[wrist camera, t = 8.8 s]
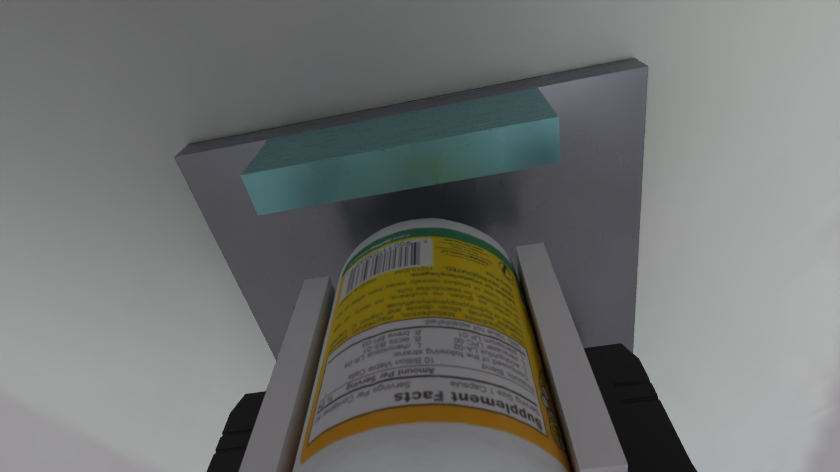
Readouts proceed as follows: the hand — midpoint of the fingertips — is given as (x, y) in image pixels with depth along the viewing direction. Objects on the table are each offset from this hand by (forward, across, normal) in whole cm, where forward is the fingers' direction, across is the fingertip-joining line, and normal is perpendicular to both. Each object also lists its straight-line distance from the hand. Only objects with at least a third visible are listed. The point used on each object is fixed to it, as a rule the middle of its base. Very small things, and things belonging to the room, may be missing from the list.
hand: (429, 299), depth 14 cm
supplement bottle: (0, 0, 0) cm, 1 cm away
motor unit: (+4, 0, -4) cm, 6 cm away
